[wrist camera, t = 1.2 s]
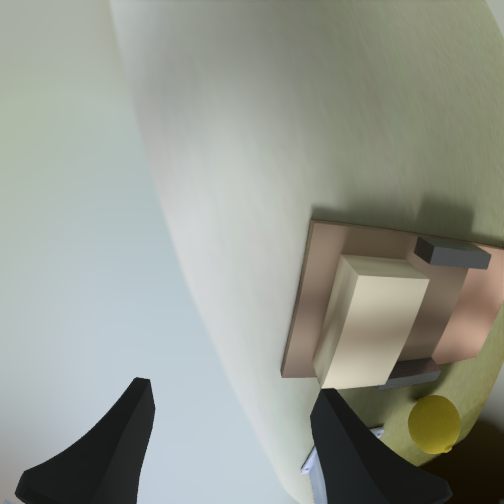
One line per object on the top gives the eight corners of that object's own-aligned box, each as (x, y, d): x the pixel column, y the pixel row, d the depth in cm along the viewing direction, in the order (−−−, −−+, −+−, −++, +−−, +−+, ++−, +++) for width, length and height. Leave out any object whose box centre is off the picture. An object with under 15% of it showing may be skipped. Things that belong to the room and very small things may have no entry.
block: (370, 358, 20) (384, 384, 18) (312, 361, 20) (321, 390, 17) (406, 260, 17) (429, 279, 15) (340, 254, 17) (358, 275, 14)
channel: (426, 366, 22) (435, 380, 20) (369, 374, 21) (377, 390, 19) (476, 245, 17) (491, 254, 16) (418, 236, 17) (434, 246, 15)
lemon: (429, 375, 23) (465, 429, 16) (445, 388, 25) (476, 435, 17) (389, 408, 25) (416, 465, 17) (410, 418, 26) (434, 467, 19)
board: (472, 352, 23) (476, 357, 22) (280, 370, 21) (281, 377, 20) (514, 250, 19) (519, 253, 18) (310, 219, 17) (314, 222, 16)
